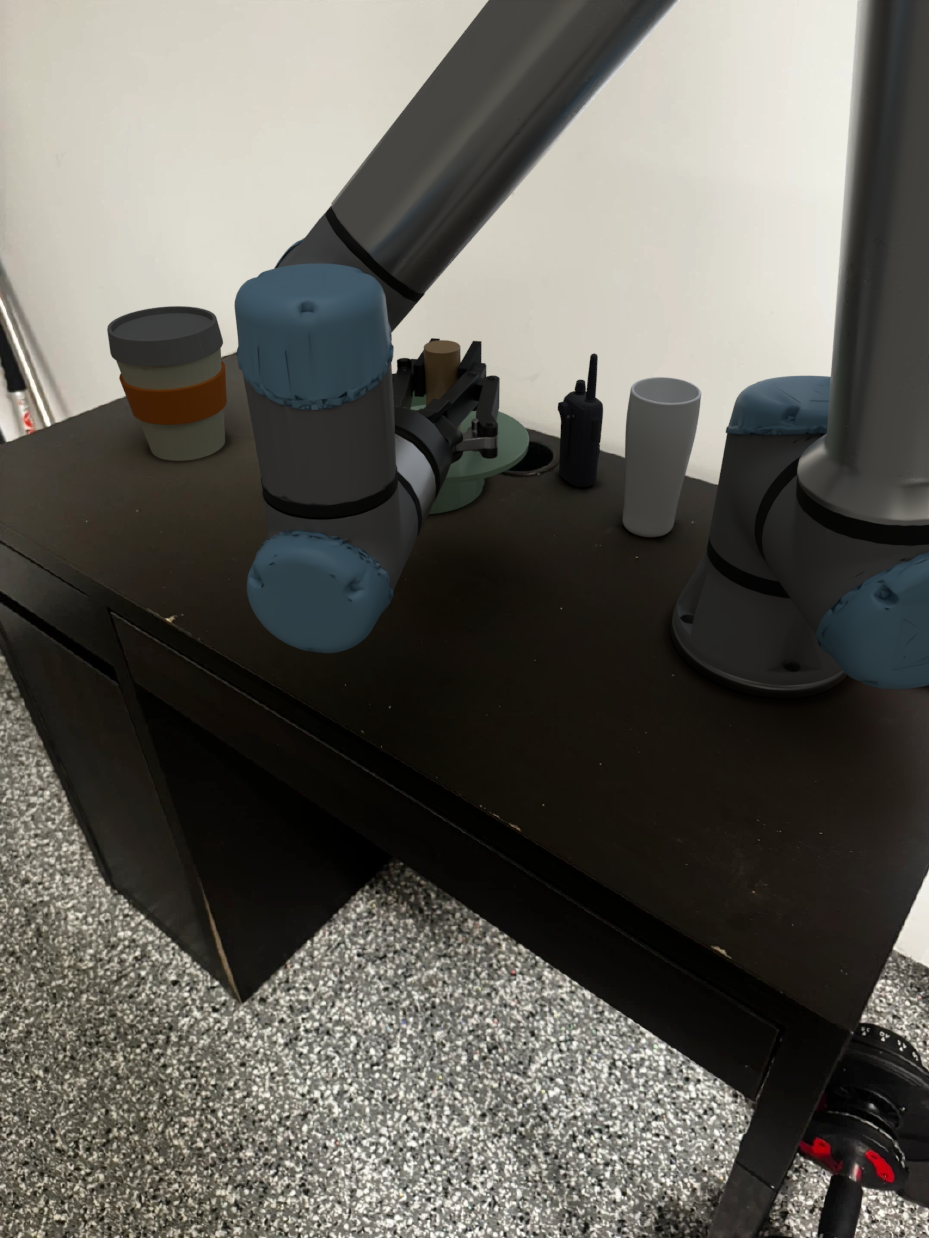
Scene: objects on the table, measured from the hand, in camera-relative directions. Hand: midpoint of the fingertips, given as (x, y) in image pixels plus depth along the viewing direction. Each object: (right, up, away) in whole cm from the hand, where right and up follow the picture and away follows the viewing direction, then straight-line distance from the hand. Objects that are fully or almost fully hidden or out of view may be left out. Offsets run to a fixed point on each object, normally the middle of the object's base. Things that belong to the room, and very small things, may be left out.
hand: (456, 355), depth 78 cm
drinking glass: (+20, -14, +15) cm, 28 cm away
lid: (-1, -8, -1) cm, 8 cm away
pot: (-4, -8, +23) cm, 24 cm away
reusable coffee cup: (-33, -2, +32) cm, 46 cm away
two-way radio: (+13, -8, +23) cm, 28 cm away
